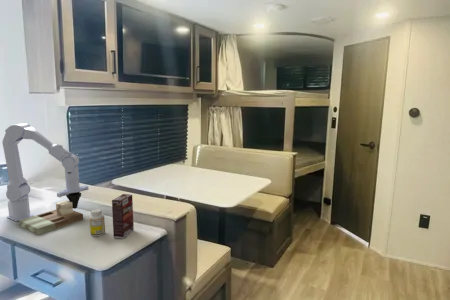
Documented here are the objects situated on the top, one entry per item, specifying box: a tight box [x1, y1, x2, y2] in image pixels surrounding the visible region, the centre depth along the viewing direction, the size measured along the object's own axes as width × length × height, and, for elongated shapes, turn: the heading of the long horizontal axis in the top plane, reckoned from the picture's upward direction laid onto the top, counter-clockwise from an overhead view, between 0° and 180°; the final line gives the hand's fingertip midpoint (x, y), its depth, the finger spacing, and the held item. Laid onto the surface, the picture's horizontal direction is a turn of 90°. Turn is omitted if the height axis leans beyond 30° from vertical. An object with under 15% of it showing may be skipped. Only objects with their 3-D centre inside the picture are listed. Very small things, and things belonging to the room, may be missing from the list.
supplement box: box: [111, 193, 135, 240], centre depth 128 cm, size 9×5×16 cm, turn 168°
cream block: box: [55, 199, 74, 216], centre depth 145 cm, size 5×5×5 cm
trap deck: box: [18, 209, 84, 235], centre depth 141 cm, size 16×20×2 cm
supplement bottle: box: [89, 208, 106, 237], centre depth 128 cm, size 6×6×10 cm
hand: (74, 207), depth 149 cm, fingers closed
